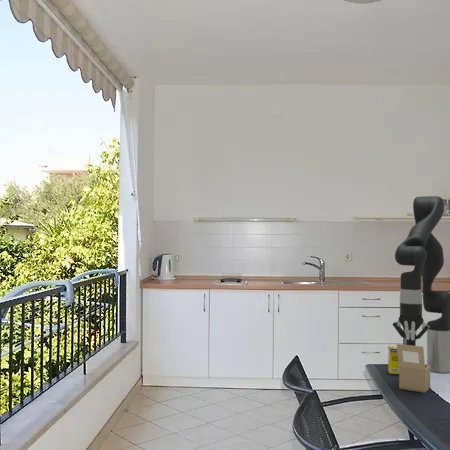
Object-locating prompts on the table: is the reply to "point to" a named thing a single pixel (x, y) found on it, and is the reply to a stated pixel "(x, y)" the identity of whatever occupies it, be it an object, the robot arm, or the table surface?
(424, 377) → the carton
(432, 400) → the table surface
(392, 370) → the supplement box
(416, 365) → the flap
